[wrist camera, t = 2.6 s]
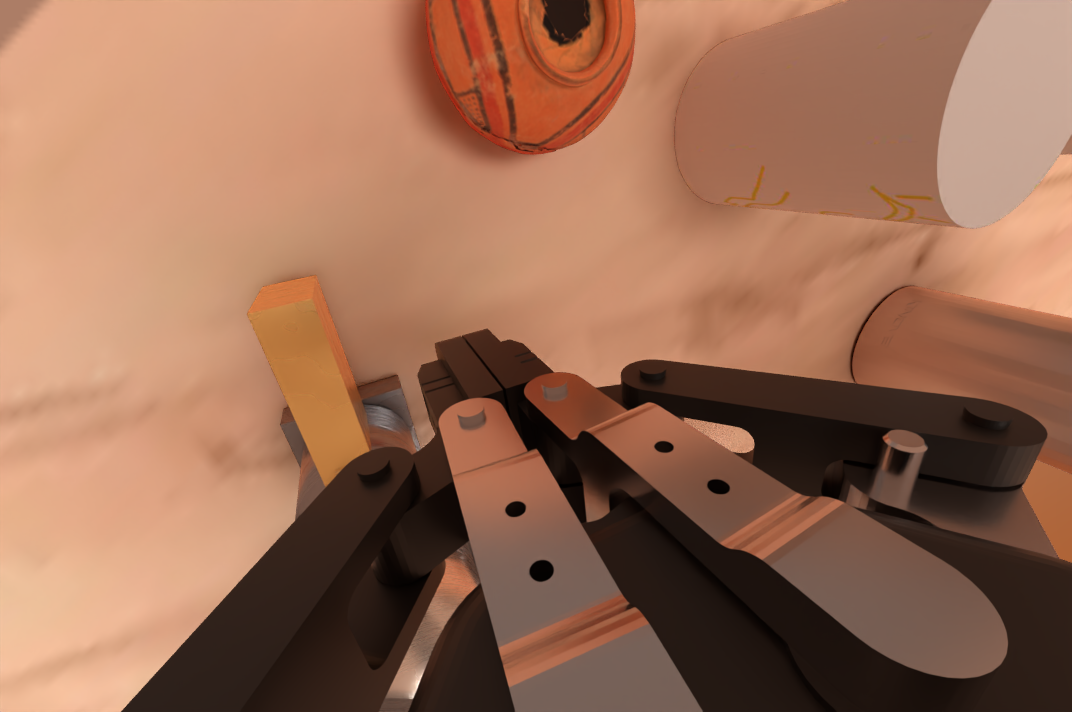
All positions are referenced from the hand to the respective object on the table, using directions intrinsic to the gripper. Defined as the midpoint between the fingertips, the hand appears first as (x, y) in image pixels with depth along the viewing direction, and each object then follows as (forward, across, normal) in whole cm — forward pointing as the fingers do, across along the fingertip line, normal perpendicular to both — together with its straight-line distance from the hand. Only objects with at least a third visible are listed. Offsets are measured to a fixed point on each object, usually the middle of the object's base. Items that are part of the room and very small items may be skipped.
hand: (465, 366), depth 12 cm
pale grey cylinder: (+10, -19, -5) cm, 22 cm away
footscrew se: (+8, +4, +4) cm, 10 cm away
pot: (+10, -6, -9) cm, 15 cm away
